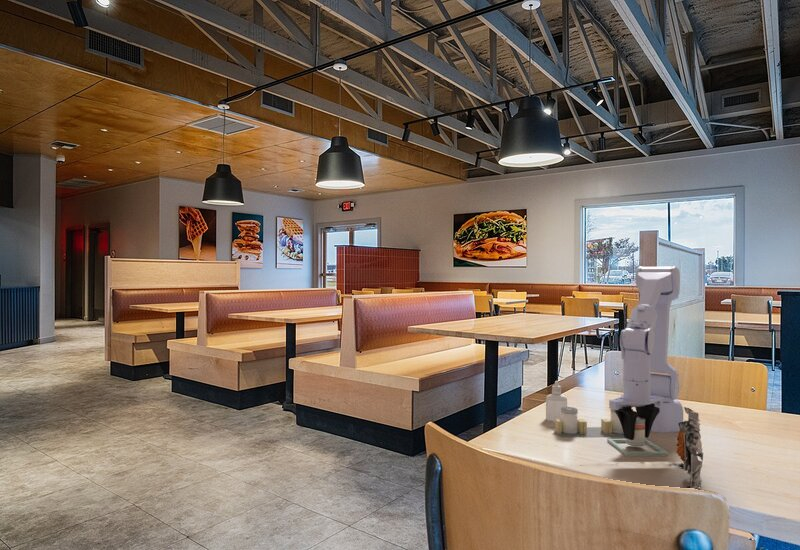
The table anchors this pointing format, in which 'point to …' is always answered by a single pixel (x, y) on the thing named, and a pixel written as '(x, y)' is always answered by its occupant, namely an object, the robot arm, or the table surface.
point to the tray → (659, 453)
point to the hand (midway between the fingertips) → (636, 437)
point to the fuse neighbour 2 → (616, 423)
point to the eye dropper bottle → (555, 403)
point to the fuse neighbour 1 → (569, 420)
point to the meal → (690, 447)
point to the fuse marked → (638, 433)
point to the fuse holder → (588, 429)
